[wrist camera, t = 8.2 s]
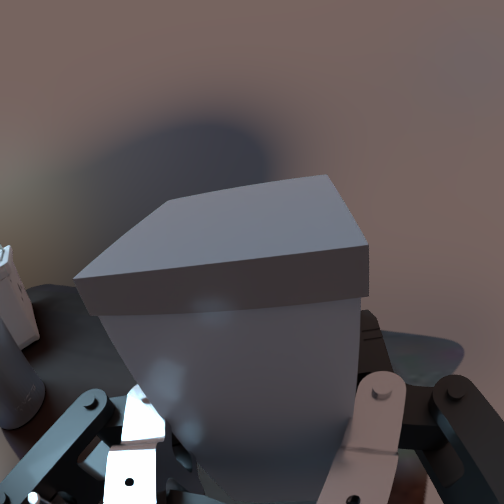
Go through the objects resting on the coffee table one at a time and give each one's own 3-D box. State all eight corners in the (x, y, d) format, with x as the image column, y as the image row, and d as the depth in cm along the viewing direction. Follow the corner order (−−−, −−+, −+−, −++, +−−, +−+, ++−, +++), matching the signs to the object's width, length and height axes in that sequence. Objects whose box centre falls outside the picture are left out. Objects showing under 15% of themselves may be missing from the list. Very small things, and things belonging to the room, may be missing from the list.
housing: (231, 502, 9) (72, 279, 4) (246, 424, 14) (168, 200, 9) (340, 501, 8) (368, 244, 4) (337, 419, 13) (326, 174, 8)
